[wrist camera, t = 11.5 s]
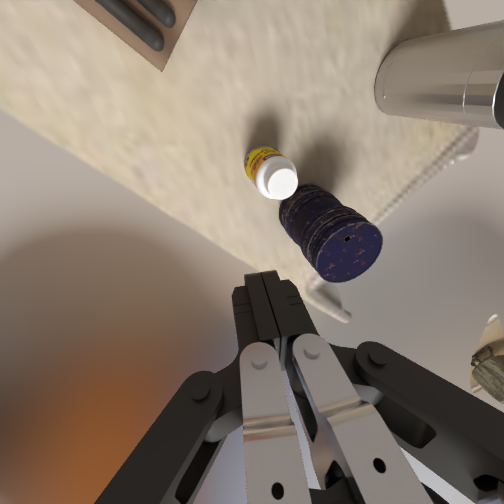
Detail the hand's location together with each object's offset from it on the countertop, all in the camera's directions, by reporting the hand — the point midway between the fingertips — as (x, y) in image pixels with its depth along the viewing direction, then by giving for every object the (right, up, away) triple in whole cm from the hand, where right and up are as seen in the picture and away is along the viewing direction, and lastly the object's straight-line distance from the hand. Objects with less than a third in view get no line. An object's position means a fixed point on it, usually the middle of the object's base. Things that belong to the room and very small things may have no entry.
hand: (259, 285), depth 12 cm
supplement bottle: (+1, +15, +26) cm, 31 cm away
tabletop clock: (+97, -43, +95) cm, 143 cm away
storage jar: (+9, +9, +33) cm, 36 cm away
